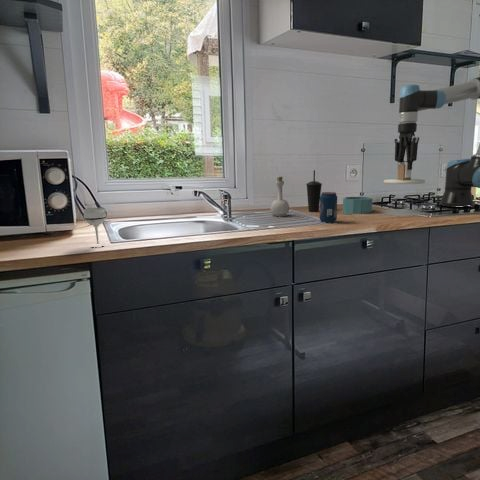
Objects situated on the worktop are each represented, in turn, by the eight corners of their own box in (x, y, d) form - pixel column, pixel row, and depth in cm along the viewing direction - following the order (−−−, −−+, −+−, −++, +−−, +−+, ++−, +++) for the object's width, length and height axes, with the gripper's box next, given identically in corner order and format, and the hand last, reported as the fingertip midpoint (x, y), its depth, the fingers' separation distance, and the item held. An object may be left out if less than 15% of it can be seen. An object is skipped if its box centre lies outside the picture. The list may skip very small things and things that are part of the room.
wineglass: (111, 243, 128) (107, 207, 125) (107, 248, 121) (103, 210, 119) (89, 244, 127) (85, 208, 125) (84, 249, 120) (80, 211, 118)
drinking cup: (317, 213, 185) (318, 170, 181) (303, 211, 190) (303, 170, 185) (324, 211, 191) (325, 170, 187) (310, 210, 196) (310, 170, 191)
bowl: (361, 210, 190) (362, 196, 188) (377, 213, 177) (378, 198, 176) (337, 212, 186) (338, 197, 185) (352, 215, 174) (352, 200, 173)
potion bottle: (277, 217, 174) (277, 177, 170) (266, 215, 181) (266, 176, 177) (293, 215, 178) (293, 176, 174) (281, 213, 185) (281, 175, 182)
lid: (407, 181, 184) (408, 163, 182) (433, 183, 168) (435, 163, 166) (376, 182, 180) (376, 164, 178) (399, 184, 164) (401, 165, 162)
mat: (405, 210, 188) (405, 208, 187) (432, 214, 171) (432, 213, 170) (373, 212, 183) (373, 210, 183) (397, 217, 166) (397, 216, 166)
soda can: (318, 220, 164) (319, 192, 161) (335, 220, 163) (336, 191, 160) (320, 223, 157) (321, 193, 154) (337, 223, 156) (338, 193, 154)
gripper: (387, 124, 176) (385, 176, 181) (413, 121, 160) (409, 178, 164) (402, 124, 178) (399, 176, 182) (428, 121, 161) (424, 177, 166)
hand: (404, 177), depth 173 cm, fingers closed on lid, 4 cm apart
